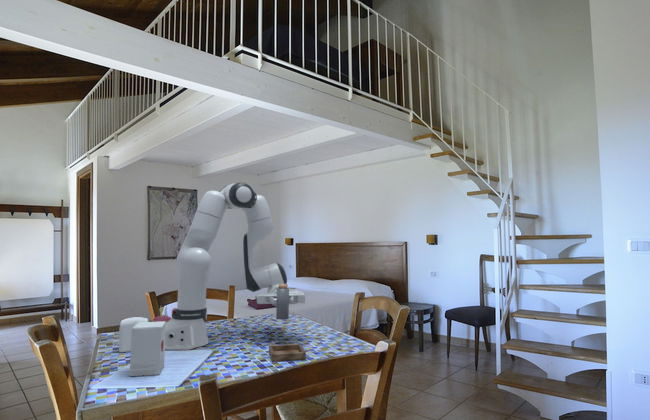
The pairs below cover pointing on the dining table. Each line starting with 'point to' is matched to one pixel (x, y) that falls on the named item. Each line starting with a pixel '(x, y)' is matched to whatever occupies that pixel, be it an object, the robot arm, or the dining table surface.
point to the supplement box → (147, 348)
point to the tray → (287, 352)
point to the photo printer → (127, 332)
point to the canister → (282, 302)
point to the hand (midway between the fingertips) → (283, 301)
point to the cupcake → (161, 317)
